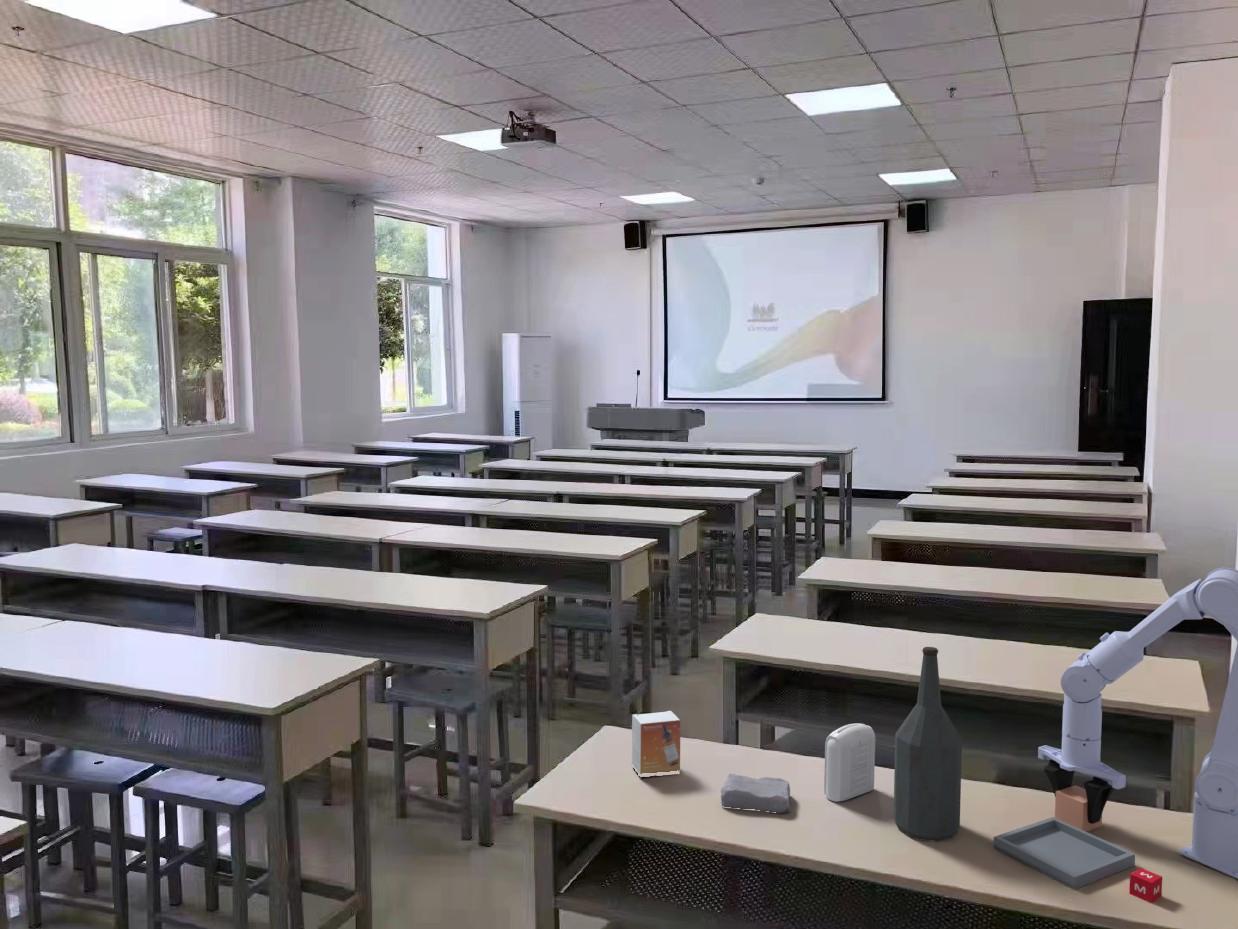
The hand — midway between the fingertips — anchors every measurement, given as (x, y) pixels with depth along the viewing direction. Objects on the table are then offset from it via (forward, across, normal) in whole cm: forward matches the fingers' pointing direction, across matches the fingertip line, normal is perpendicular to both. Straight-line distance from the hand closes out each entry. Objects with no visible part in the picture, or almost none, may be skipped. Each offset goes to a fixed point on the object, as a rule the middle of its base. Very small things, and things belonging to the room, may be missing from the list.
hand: (1078, 815), depth 156 cm
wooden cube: (+1, 0, 0) cm, 1 cm away
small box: (+2, -52, -50) cm, 72 cm away
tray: (+1, +6, -12) cm, 13 cm away
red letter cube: (+2, +19, -12) cm, 22 cm away
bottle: (+2, -11, -23) cm, 26 cm away
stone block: (+2, -33, -41) cm, 53 cm away
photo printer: (+2, -27, -25) cm, 37 cm away
